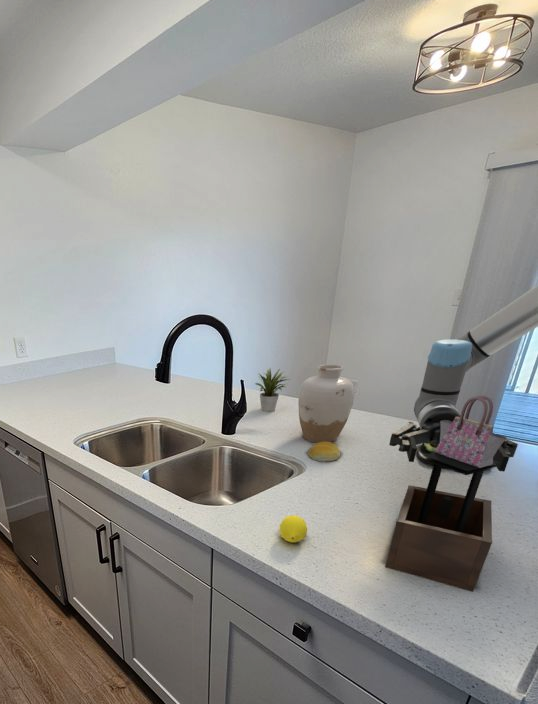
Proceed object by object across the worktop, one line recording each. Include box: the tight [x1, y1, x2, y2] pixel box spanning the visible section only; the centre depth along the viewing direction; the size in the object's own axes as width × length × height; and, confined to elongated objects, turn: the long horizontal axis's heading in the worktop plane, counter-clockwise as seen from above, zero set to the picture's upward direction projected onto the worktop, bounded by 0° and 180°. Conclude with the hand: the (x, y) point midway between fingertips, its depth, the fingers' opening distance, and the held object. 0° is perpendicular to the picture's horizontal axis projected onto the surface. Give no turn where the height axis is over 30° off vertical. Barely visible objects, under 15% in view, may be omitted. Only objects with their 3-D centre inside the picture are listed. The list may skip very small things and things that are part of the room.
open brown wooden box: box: [384, 484, 493, 592], centre depth 81 cm, size 13×16×10 cm
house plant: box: [254, 368, 293, 413], centre depth 166 cm, size 14×14×16 cm
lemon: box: [279, 514, 308, 543], centre depth 89 cm, size 7×5×5 cm
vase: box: [297, 363, 355, 444], centre depth 136 cm, size 16×16×23 cm
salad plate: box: [416, 443, 446, 469], centre depth 120 cm, size 19×18×5 cm
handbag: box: [417, 394, 508, 533], centre depth 76 cm, size 10×8×30 cm
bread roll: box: [307, 442, 341, 463], centre depth 127 cm, size 8×9×4 cm
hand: (457, 459), depth 78 cm, fingers open, 13 cm apart
